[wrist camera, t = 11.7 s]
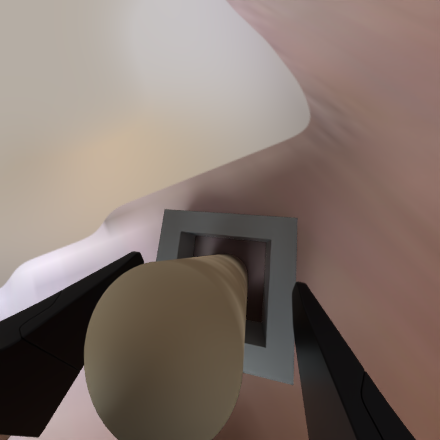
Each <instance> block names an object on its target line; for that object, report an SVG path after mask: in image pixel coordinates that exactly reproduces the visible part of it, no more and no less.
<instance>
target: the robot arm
mask: <svg viewBox="0 0 440 440" xmlns="http://www.w3.org/2000/svg"><path fill="white" fill-rule="evenodd" d="M142 264H144V260H143V258H142V256H141V253H140V252H135V251H133V252H131V253H129V254H127V255H125V256H124V257H122V258H120V259H118V260H116V261H114V262H113V263H111V264H109V265H107V266H105V267H103V268H102V269H100V270H98V271H96V272H94V273H92V274H91V275H89V276H87V277H85V278H83V279H81V280H80V281H78V282H76V283H74V284H72V285H70V286H69V287H67V288H65V289H63V290H61V291H59V292H58V293H56V294H54V295H52V296H50V297H48V298H46V299H45V300H43V301H41V302H39V303H37V304H35V305H33V306H31V307H29V308H27V309H25V310H23V311H21V312H19V313H17V314H15V315H13V316H10V317H8V318H6V319H4V320H2V321H0V440H8V438H9V437H10V436H24V437H39V436H40V435H41V433H42V432H43V431H44V429H45V427H46V426H47V424H48V423H49V421H50V419H51V418H52V416H53V415H54V413H55V411H56V410H57V408H58V406H59V405H60V403H61V402H62V400H63V398H64V397H65V395H66V394H67V392H68V390H69V389H70V387H71V385H72V384H73V382H74V381H75V379H76V377H77V376H78V374H79V373H80V370H81V369H82V368H83V366H84V346H85V339H86V333H87V329H88V325H89V322H90V319H91V316H92V314H93V311H94V309H95V307H96V305H97V303H98V301H99V300H100V298H101V297H102V295H103V294H104V292H105V291H106V290H107V288H108V287H109V286H110V285H111V284H112V283H113V282H114V281H115V280H116V279H117V278H118V277H120V276H121V275H122V274H124V273H125V272H127V271H129V270H130V269H132V268H134V267H137V266H139V265H142ZM292 317H293V331H294V338H295V345H296V352H297V359H298V366H299V373H300V380H301V387H302V394H303V401H304V408H305V415H306V422H307V429H308V436H309V440H416V439H415V438H414V437H413V436H412V434H411V433H410V432H409V430H408V429H407V428H406V426H405V425H404V424H403V422H402V421H401V420H400V418H399V417H398V416H397V414H396V413H395V412H394V410H393V409H392V408H391V406H390V405H389V404H388V402H387V401H386V399H385V398H384V397H383V395H382V394H381V392H380V391H379V390H378V388H377V387H376V385H375V384H374V382H373V381H372V379H371V378H370V377H369V375H368V374H367V372H365V371H364V368H363V366H362V365H361V363H360V362H359V361H358V359H357V358H356V356H355V355H354V353H353V352H352V350H351V349H350V347H349V346H348V345H347V343H346V342H345V340H344V339H343V337H342V336H341V334H340V333H339V331H338V330H337V328H336V327H335V326H334V324H333V323H332V321H331V320H330V318H329V317H328V315H327V314H326V312H325V311H324V309H323V308H322V307H321V305H320V304H319V302H318V301H317V299H316V298H315V296H314V295H313V293H312V292H311V291H310V289H309V288H308V286H307V285H306V284H305V283H303V282H296V283H295V285H294V288H293V290H292Z"/></svg>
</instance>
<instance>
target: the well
mask: <svg viewBox="0 0 440 440" xmlns="http://www.w3.org/2000/svg"><path fill="white" fill-rule="evenodd" d="M196 236H207V237H217V238H228V239H238V240H249V241H260V242H266V254H265V272H264V290H263V308H262V323H261V322H256V321H251V320H246V324H245V343H244V361H243V373H247V374H251V375H255V376H259V377H263V378H267V379H271V380H275V381H279V382H283V383H287V384H291V385H293V379H294V331H293V317H292V290H293V288H294V285H295V283H296V257H297V218H291V217H276V216H260V215H245V214H229V213H214V212H198V211H183V210H167V209H165V211H164V217H163V223H162V229H161V235H160V241H159V247H158V253H157V259H156V262H157V261H165V260H174V259H183V258H192V257H193V253H194V246H195V238H196Z"/></svg>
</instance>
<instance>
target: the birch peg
mask: <svg viewBox="0 0 440 440" xmlns="http://www.w3.org/2000/svg"><path fill="white" fill-rule="evenodd" d="M247 287H248V272H247V269H246V267H245V265H244V263H243V262H242V261H241V260H240V259H239V258H238V257H236V256H234V255H231V254H218V255H209V256H200V257H192V258H183V259H174V260H165V261H157V262H149V263H145V264H142V265H139V266H137V267H134V268H132V269H130V270H129V271H127V272H125V273H124V274H122V275H121V276H120V277H118V278H117V279H116V280H115V281H114V282H113V283H112V284H111V285H110V286H109V287H108V288H107V290H106V291H105V292H104V294H103V295H102V297H101V298H100V300H99V301H98V303H97V305H96V307H95V309H94V311H93V314H92V316H91V319H90V322H89V325H88V329H87V333H86V339H85V346H84V370H85V376H86V383H87V387H88V390H89V394H90V397H91V400H92V402H93V405H94V407H95V409H96V411H97V413H98V415H99V417H100V418H101V420H102V421H103V423H104V424H105V426H106V427H107V428H108V430H109V431H110V432H111V433H112V434H113V435H114V436H115V437H116V438H117V439H118V440H212V439H213V438H214V437H215V436H216V435H217V434H218V433H219V432H220V430H221V429H222V428H223V426H224V425H225V424H226V422H227V421H228V419H229V417H230V415H231V413H232V411H233V409H234V407H235V404H236V401H237V398H238V396H239V391H240V387H241V383H242V374H243V361H244V343H245V324H246V306H247Z"/></svg>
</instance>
